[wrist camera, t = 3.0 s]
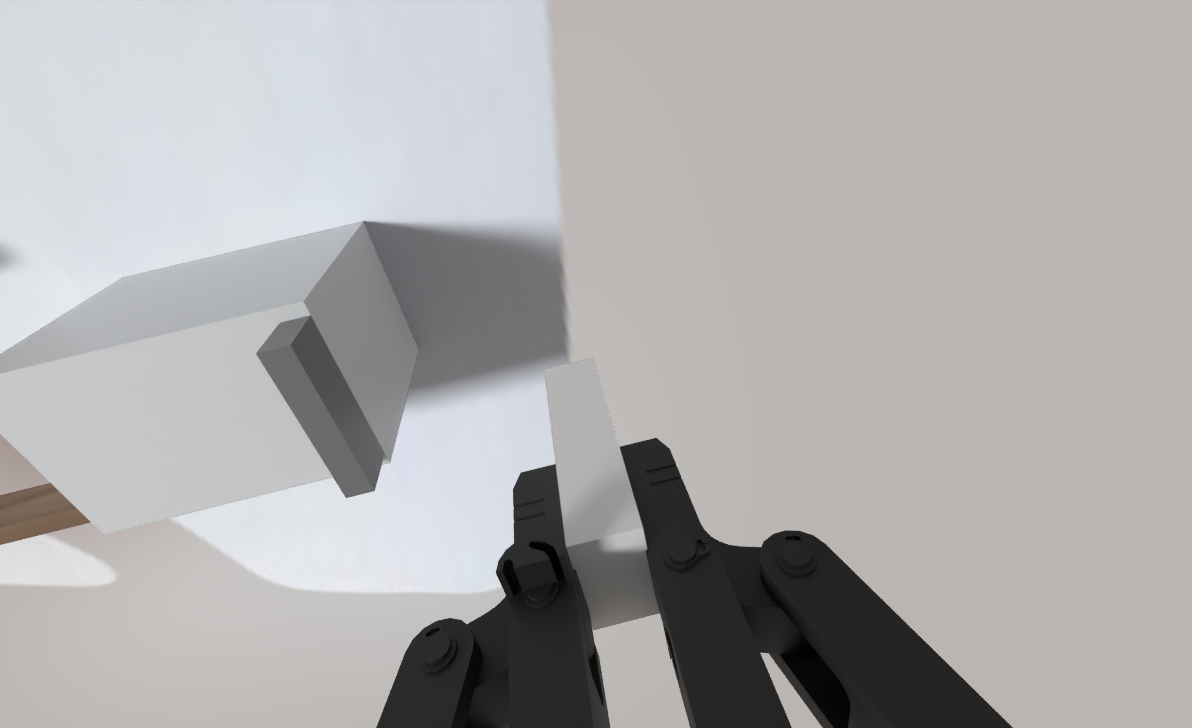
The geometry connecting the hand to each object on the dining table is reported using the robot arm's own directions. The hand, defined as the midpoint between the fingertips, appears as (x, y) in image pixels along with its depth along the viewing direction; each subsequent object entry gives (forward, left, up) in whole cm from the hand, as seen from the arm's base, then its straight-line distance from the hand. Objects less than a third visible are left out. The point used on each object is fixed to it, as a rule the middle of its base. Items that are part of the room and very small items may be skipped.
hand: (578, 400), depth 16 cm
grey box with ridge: (0, -13, -13) cm, 18 cm away
